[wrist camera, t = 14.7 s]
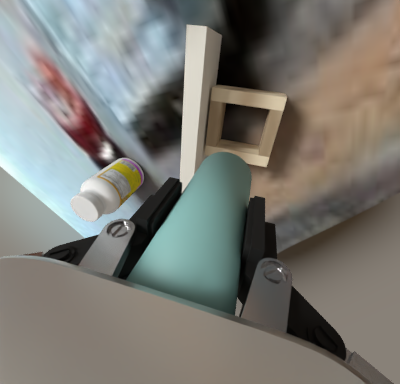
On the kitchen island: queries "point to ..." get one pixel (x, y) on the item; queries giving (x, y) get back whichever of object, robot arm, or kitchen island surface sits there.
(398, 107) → the kitchen island surface
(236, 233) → the dowel
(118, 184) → the supplement bottle
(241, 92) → the light wooden square frame
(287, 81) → the kitchen island surface
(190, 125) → the wall
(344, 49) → the kitchen island surface
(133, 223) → the robot arm
